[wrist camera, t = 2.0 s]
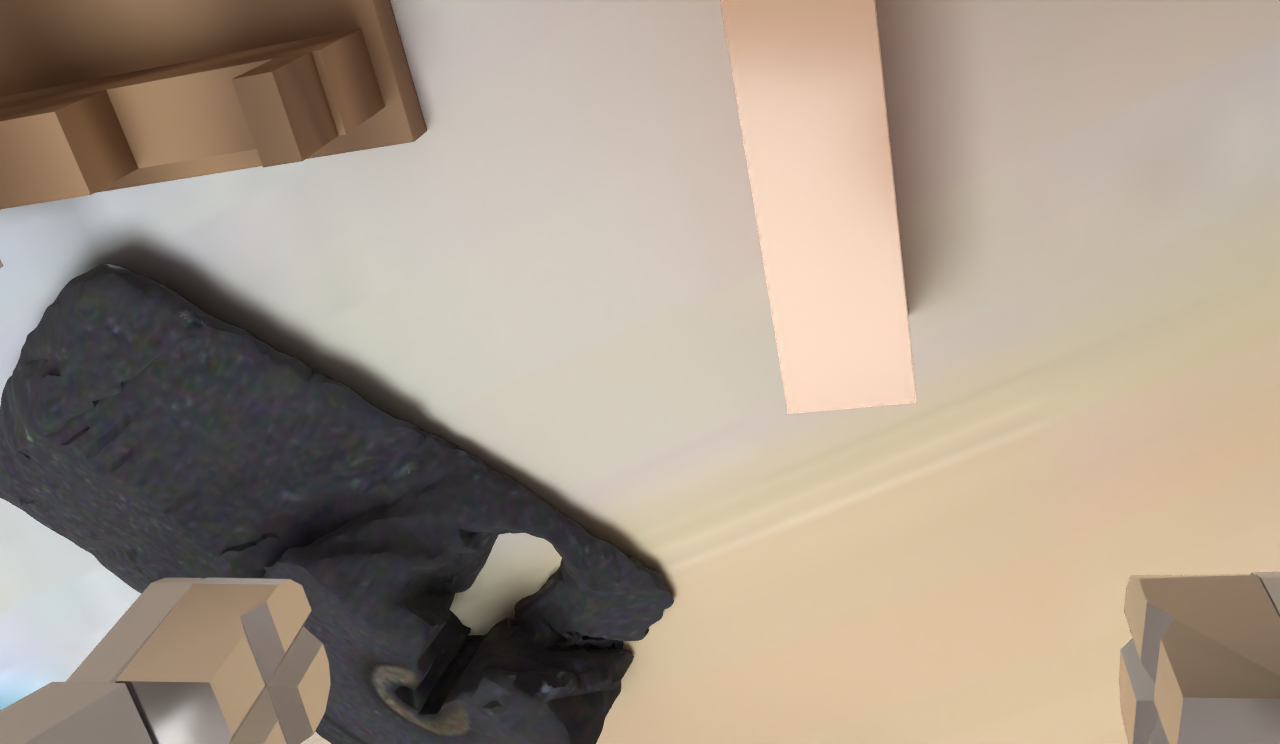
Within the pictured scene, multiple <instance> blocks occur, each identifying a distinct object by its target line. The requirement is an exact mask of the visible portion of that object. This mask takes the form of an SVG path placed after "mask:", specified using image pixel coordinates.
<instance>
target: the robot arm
mask: <svg viewBox="0 0 1280 744" xmlns="http://www.w3.org/2000/svg"><path fill="white" fill-rule="evenodd" d="M311 611H312V610H311V607H310V605H309V602H308V600H307V597H306V595H305V592H304V589H303V587H302V585H301V584H298V583H296V582H294V581H292V580H290V579H258V578H205V579H203V578H163V579H160V580H158V581H155V582H152V583H151V584H150V585H149V586H148V587H147V588H146V589H145V591H144V592H143V593H142V594H141V595H140V596H139V597H138V599H137V600H136V601H135V602H134V603H133V604H132V606H131V607H130V608H129V609H128V610H127V611H126V613H125V614H124V615H123V616H122V617H121V618H120V619H119V621H118V622H117V623H116V624H115V625H114V626H113V628H112V629H111V630H110V631H109V632H108V633H107V635H106V636H105V637H104V638H103V639H102V640H101V642H100V643H99V644H98V645H97V646H96V647H95V648H94V650H93V651H92V652H91V653H90V654H89V655H88V657H87V658H86V659H85V660H84V661H83V662H82V664H81V665H80V666H79V667H78V668H77V669H76V670H75V672H74V673H73V674H72V675H71V676H70V677H69V679H68V680H67V681H66V682H51V683H50V684H48V685H46V686H44V687H42V688H40V689H39V690H37V691H35V692H33V693H31V694H30V695H28V696H26V697H24V698H22V699H21V700H19V701H17V702H15V703H13V704H12V705H10V706H8V707H6V708H4V709H3V710H1V711H0V744H300V743H302V742H303V741H305V740H306V739H307V738H309V737H310V736H312V735H313V734H314V732H315V731H316V729H317V727H318V725H319V723H320V721H321V719H322V717H323V715H324V713H325V710H326V705H327V700H328V695H329V690H330V685H331V683H330V671H329V661H328V658H327V655H326V652H325V649H324V646H323V643H322V642H321V641H319V640H318V639H317V638H316V637H315V636H314V635H313V634H311V633H310V632H309V631H308V630H307V629H306V628H305V627H304V625H305V623H306V621H307V619H308V617H309V615H310V613H311ZM1124 613H1125V616H1126V619H1127V622H1128V625H1129V628H1130V631H1131V634H1132V637H1133V638H1132V639H1131V640H1130V641H1129V642H1128V643H1127V644H1126V645H1125V646H1124V647H1123V648H1122V649H1121V652H1120V671H1119V686H1120V702H1121V712H1122V717H1123V722H1124V727H1125V732H1126V736H1127V739H1128V743H1129V744H1280V572H1254V573H1251V574H1250V575H1247V574H1235V575H1130V579H1129V582H1128V585H1127V588H1126V596H1125V606H1124Z"/></svg>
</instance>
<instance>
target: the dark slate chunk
mask: <svg viewBox="0 0 1280 744" xmlns="http://www.w3.org/2000/svg"><path fill="white" fill-rule="evenodd" d="M0 498H2V499H4V500H6V501H8V502H10V503H12V504H13V505H15V506H16V507H18V508H20V509H22V510H23V511H25V512H26V513H27V514H29V515H30V516H31V517H33V518H34V519H36V520H37V521H39V522H40V523H42V524H43V525H45V526H46V527H48V528H50V529H51V530H53V531H55V532H56V533H58V534H60V535H62V536H64V537H65V538H67V539H69V540H71V541H72V542H74V543H75V544H76V545H78V546H79V547H81V548H83V549H84V550H86V551H88V552H90V553H91V554H93V555H94V556H95V557H96V558H97V560H98V561H99V562H100V563H101V564H102V565H103V566H104V567H105V568H107V569H108V570H110V571H111V572H112V573H114V574H115V575H116V576H118V577H119V578H120V579H121V580H123V581H124V582H125V583H127V584H128V585H129V586H130V587H132V588H133V589H135V590H136V591H138V592H140V593H141V594H142V593H143V592H144V591H145V589H146V588H147V587H148V586H149V585H150V584H151V583H152V582H155V581H158V580H160V579H163V578H203V579H205V578H258V579H290V580H292V581H294V582H296V583H298V584H301V585H302V587H303V589H304V592H305V595H306V597H307V600H308V602H309V605H310V607H311V610H312V611H311V613H310V615H309V617H308V619H307V621H306V623H305V625H304V627H305V628H306V629H307V630H308V631H309V632H310V633H311V634H313V635H314V636H315V637H316V638H317V639H318V640H319V641H321V642H322V643H323V646H324V649H325V652H326V655H327V658H328V661H329V671H330V683H331V685H330V690H329V695H328V700H327V705H326V710H325V713H324V715H323V717H322V719H321V721H320V723H319V725H318V727H317V729H316V732H317V733H318V734H319V735H320V736H321V737H323V738H324V739H326V740H327V741H329V742H330V743H331V744H596V742H597V740H598V738H599V736H600V734H601V732H602V728H603V724H604V720H605V717H606V715H607V713H608V712H609V710H610V708H611V706H612V705H613V703H614V701H615V699H616V698H617V697H618V695H619V693H620V692H621V679H622V678H623V676H624V674H625V673H626V671H627V669H628V668H629V666H630V664H631V663H632V661H633V658H634V656H633V655H632V654H631V653H630V652H629V651H627V650H625V649H623V641H639V640H641V639H643V638H644V637H645V636H646V635H647V633H648V631H649V629H648V627H649V626H651V625H652V624H654V623H656V622H657V621H659V620H660V619H661V618H662V616H663V611H664V609H667V608H669V607H671V606H672V604H673V603H674V599H673V597H672V596H671V595H670V593H669V591H668V590H667V588H666V585H665V583H664V580H663V578H662V576H661V574H660V573H659V572H658V571H655V570H650V569H647V568H646V567H645V565H644V564H643V562H642V561H640V560H639V559H637V558H635V557H632V556H628V557H627V556H626V555H624V554H623V553H622V552H621V551H620V550H618V549H617V548H616V547H614V546H613V545H611V544H610V543H608V542H606V541H603V540H600V539H598V538H595V537H593V536H591V535H589V534H588V533H587V532H586V530H585V529H584V528H583V527H582V526H581V525H580V524H578V523H577V522H575V521H573V520H571V519H569V518H567V517H565V516H563V515H562V514H561V513H560V512H558V511H557V510H556V509H555V508H554V507H552V506H551V505H550V504H548V503H546V502H545V501H543V500H542V499H540V498H539V497H538V496H536V495H535V494H534V493H532V492H531V491H530V490H528V489H527V488H526V487H524V486H523V485H521V484H520V483H518V482H516V481H515V480H513V479H512V478H510V477H509V476H507V475H505V474H503V473H500V472H494V471H492V470H491V469H490V468H489V467H488V466H487V465H486V464H485V463H484V462H483V461H482V460H481V459H480V458H478V457H476V456H473V455H470V454H468V453H466V452H464V451H462V450H460V448H459V446H457V445H454V444H452V443H450V442H449V441H447V440H446V439H444V438H442V437H439V436H436V435H433V434H430V433H427V432H424V431H422V430H420V429H419V428H417V427H416V426H414V425H413V424H411V423H409V422H407V421H402V420H398V419H396V418H394V417H392V416H390V415H389V414H387V413H385V412H383V411H382V410H380V409H378V408H376V407H374V406H373V405H371V404H370V403H368V402H367V401H366V400H364V399H363V398H362V397H360V396H359V395H358V394H357V393H356V392H355V391H353V390H352V389H350V388H349V387H347V386H346V385H344V384H342V383H340V382H337V381H333V380H330V379H329V378H328V377H327V376H325V375H323V374H320V373H317V372H315V371H313V370H311V369H310V368H309V367H308V366H307V365H305V364H304V363H303V362H301V361H300V360H298V359H296V358H294V357H292V356H290V355H287V354H284V353H281V352H278V351H276V350H275V349H274V348H273V347H272V346H271V345H268V344H266V343H263V342H261V341H259V340H257V339H256V338H255V337H253V336H252V335H251V334H250V333H249V332H247V331H246V330H244V329H242V328H239V327H237V326H234V325H231V324H229V323H226V322H224V321H222V320H220V319H217V318H215V317H212V316H210V315H208V314H207V313H205V312H204V311H202V310H201V309H200V308H198V307H197V306H196V305H194V304H193V303H191V302H190V301H188V300H187V299H185V298H184V297H182V296H181V295H179V294H178V293H176V292H174V291H173V290H171V289H169V288H168V287H166V286H164V285H162V284H160V283H158V282H156V281H153V280H151V279H149V278H147V277H145V276H142V275H139V274H136V273H134V272H132V271H130V270H128V269H126V268H123V267H119V266H114V265H110V264H102V265H100V266H98V267H96V268H94V269H92V270H91V271H89V272H87V273H85V274H82V275H80V276H78V277H76V278H74V279H72V280H71V281H70V282H69V283H68V284H67V285H66V286H65V287H64V288H63V289H62V291H61V292H60V294H59V295H58V297H57V299H56V300H55V302H54V303H53V304H52V305H50V306H49V307H48V308H47V309H46V311H45V313H44V315H43V317H42V319H41V321H40V323H39V325H38V326H37V328H36V329H35V330H33V331H32V332H31V333H29V334H28V336H27V339H26V342H25V344H24V346H23V347H22V350H21V355H20V359H19V361H18V363H17V365H16V368H15V369H14V371H13V375H12V376H11V377H10V378H9V379H8V380H7V382H6V385H5V387H4V390H3V393H2V398H1V407H0ZM509 532H510V533H528V534H530V535H533V536H536V537H540V538H544V539H546V540H547V541H549V542H550V543H551V544H552V545H553V546H554V548H555V549H556V551H557V552H558V553H559V554H560V556H561V557H562V561H561V565H560V568H559V569H558V571H557V572H556V573H555V574H553V575H552V576H551V577H549V578H548V582H547V584H545V585H544V586H543V587H542V588H541V589H540V590H539V591H538V592H537V593H535V594H533V595H531V596H528V597H525V598H523V599H521V600H520V601H518V603H517V604H516V606H515V621H514V620H512V619H509V618H506V619H504V620H503V621H501V622H499V623H497V624H496V625H495V626H494V627H493V628H492V629H491V630H490V631H489V632H488V633H487V634H486V635H484V636H474V635H473V636H468V634H469V632H470V628H468V627H465V626H463V625H462V623H461V622H460V621H459V619H458V618H457V617H456V616H455V615H454V614H453V613H452V612H451V611H450V607H451V604H452V601H453V598H454V595H455V593H457V592H463V591H466V590H467V589H469V588H470V587H471V585H472V584H473V582H474V581H475V579H476V577H477V575H478V574H479V572H480V571H481V569H482V568H483V566H484V565H485V563H486V560H487V558H488V556H489V554H490V552H491V549H492V547H493V545H494V543H495V540H496V539H497V537H498V535H499V534H504V533H509ZM615 640H616V641H615ZM613 643H615V644H616V646H615V647H614V648H613V649H611V648H610V647H609V646H610V645H612V644H613Z"/></svg>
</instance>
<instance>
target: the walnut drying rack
mask: <svg viewBox="0 0 1280 744" xmlns="http://www.w3.org/2000/svg"><path fill="white" fill-rule="evenodd" d="M426 131H427V130H426V126H425V123H424V119H423V116H422V112H421V109H420V105H419V102H418V98H417V95H416V92H415V88H414V85H413V81H412V78H411V74H410V71H409V67H408V64H407V60H406V57H405V53H404V50H403V47H402V43H401V40H400V36H399V33H398V29H397V26H396V22H395V19H394V15H393V12H392V8H391V5H390V1H389V0H0V209H5V208H11V207H17V206H23V205H30V204H36V203H42V202H49V201H55V200H61V199H67V198H74V197H80V196H86V195H91V194H93V193H96V192H102V191H108V190H115V189H121V188H127V187H133V186H140V185H146V184H152V183H158V182H165V181H171V180H177V179H183V178H190V177H196V176H202V175H208V174H215V173H221V172H227V171H233V170H240V169H246V168H252V167H258V166H263V167H268V166H274V165H280V164H287V163H293V162H299V161H303V160H305V159H308V158H315V157H321V156H327V155H333V154H340V153H346V152H352V151H359V150H365V149H371V148H377V147H384V146H390V145H396V144H402V143H409V142H414V141H415V140H417V139H418V138H419V137H420V136H421V135H423V134H424V133H425V132H426Z"/></svg>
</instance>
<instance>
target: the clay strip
mask: <svg viewBox="0 0 1280 744" xmlns="http://www.w3.org/2000/svg"><path fill="white" fill-rule="evenodd" d="M720 3H721V9H722V15H723V21H724V27H725V33H726V39H727V45H728V51H729V57H730V64H731V70H732V76H733V82H734V88H735V94H736V100H737V106H738V112H739V118H740V124H741V131H742V137H743V143H744V149H745V155H746V161H747V167H748V173H749V179H750V185H751V191H752V198H753V204H754V210H755V216H756V222H757V228H758V234H759V240H760V246H761V252H762V258H763V265H764V271H765V277H766V283H767V289H768V295H769V301H770V307H771V313H772V319H773V325H774V332H775V338H776V344H777V350H778V356H779V362H780V368H781V374H782V380H783V386H784V392H785V399H786V405H787V411H788V414H796V413H807V412H818V411H829V410H841V409H852V408H863V407H874V406H885V405H897V404H908V403H916V393H915V383H914V372H913V361H912V350H911V339H910V328H909V317H908V307H907V297H906V288H905V278H904V269H903V259H902V249H901V240H900V230H899V221H898V211H897V202H896V192H895V182H894V173H893V163H892V154H891V144H890V135H889V125H888V115H887V106H886V96H885V87H884V77H883V68H882V58H881V48H880V39H879V29H878V20H877V10H876V1H875V0H720Z"/></svg>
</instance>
